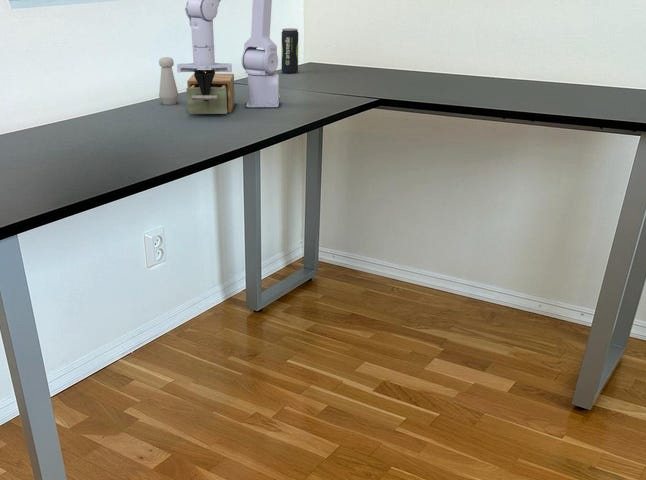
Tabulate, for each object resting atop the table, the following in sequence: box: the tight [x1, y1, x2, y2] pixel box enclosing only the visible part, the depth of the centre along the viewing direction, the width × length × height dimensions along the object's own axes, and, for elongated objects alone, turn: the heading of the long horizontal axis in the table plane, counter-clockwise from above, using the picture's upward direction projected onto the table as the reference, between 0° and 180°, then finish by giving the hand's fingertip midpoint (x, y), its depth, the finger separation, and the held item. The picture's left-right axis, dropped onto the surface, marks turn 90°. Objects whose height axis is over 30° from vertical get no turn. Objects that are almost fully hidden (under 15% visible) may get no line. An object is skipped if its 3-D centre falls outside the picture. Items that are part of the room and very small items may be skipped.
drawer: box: [186, 84, 228, 115], centre depth 198 cm, size 18×11×7 cm, turn 178°
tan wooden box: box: [186, 73, 236, 114], centre depth 206 cm, size 14×12×9 cm
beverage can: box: [281, 27, 299, 75], centre depth 262 cm, size 6×6×15 cm
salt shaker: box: [158, 56, 179, 106], centre depth 211 cm, size 6×6×13 cm
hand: (206, 100), depth 193 cm, fingers closed, pressing on drawer
